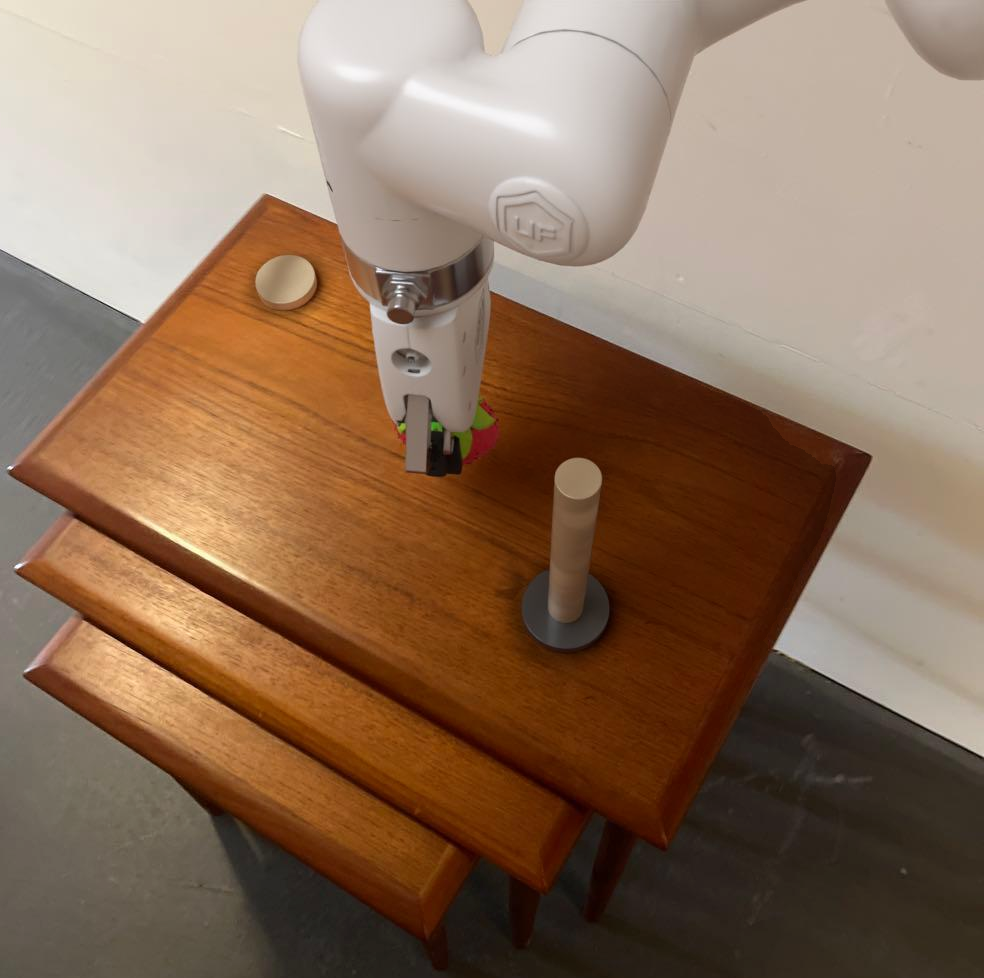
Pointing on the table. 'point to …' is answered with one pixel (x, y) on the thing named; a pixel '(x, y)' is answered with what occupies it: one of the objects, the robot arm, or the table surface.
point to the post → (569, 567)
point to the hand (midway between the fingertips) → (445, 422)
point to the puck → (286, 282)
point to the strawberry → (470, 433)
